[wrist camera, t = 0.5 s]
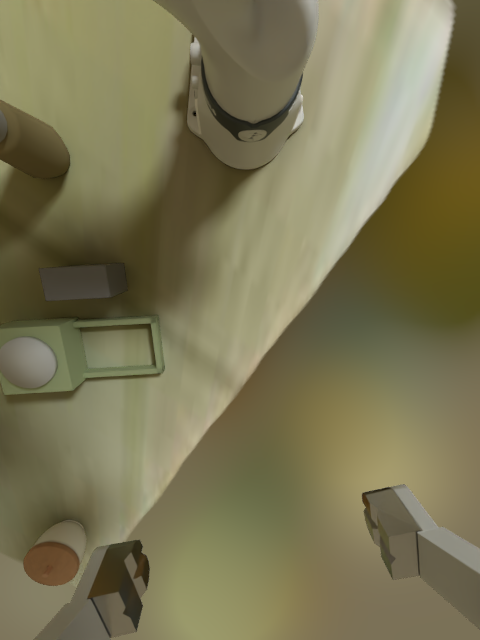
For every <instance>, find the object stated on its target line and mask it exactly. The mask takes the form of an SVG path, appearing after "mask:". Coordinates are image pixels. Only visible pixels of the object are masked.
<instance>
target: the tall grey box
mask: <svg viewBox="0 0 480 640" xmlns="http://www.w3.org/2000/svg"><path fill="white" fill-rule="evenodd" d="M39 272H40V276H41V281H42V285H43V290H44V294H45V299H46V301H55V300H73V299H91V298H109V297H113V296H115V295H118V294H120V293H123V292H125V291H128V288H127V281H126V274H125V267H124V263H114V264H95V265H75V266H61V267H51V268H41V269H39Z"/></svg>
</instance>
